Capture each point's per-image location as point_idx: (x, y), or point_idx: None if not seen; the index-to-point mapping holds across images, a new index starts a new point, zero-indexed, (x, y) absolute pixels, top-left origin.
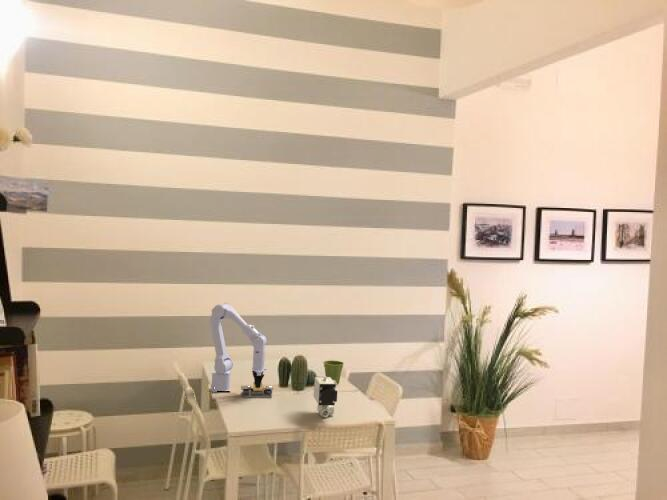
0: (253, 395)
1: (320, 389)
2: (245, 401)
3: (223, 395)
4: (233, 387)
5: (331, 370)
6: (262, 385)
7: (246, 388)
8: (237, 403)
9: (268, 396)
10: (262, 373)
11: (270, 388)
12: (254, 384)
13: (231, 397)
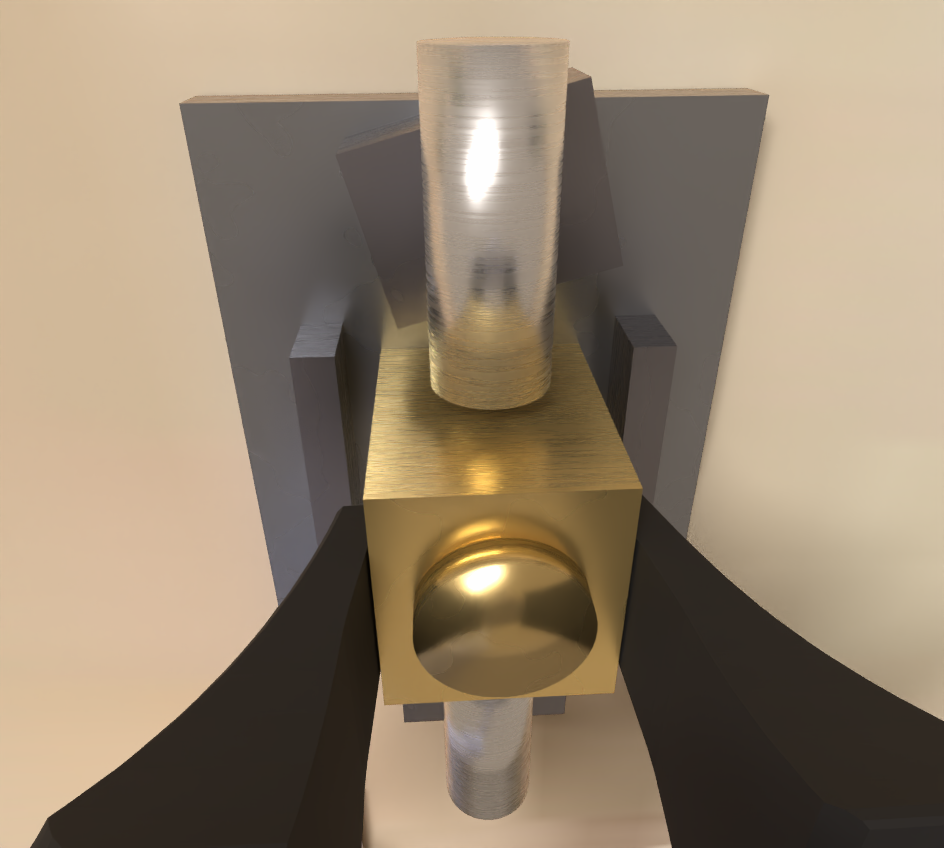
0: (666, 511)
1: None
2: (867, 594)
3: (506, 827)
4: (23, 760)
5: None
6: (631, 466)
7: (532, 705)
8: (935, 681)
9: (743, 186)
10: (308, 798)
11: (562, 156)
12: (616, 671)
13: (612, 753)
